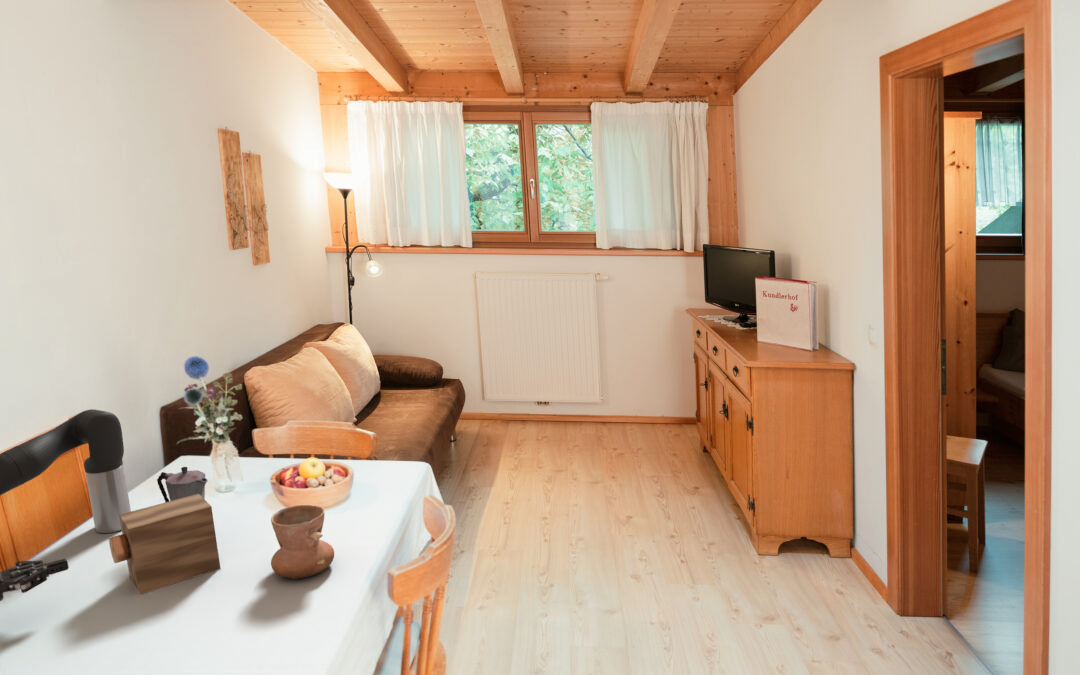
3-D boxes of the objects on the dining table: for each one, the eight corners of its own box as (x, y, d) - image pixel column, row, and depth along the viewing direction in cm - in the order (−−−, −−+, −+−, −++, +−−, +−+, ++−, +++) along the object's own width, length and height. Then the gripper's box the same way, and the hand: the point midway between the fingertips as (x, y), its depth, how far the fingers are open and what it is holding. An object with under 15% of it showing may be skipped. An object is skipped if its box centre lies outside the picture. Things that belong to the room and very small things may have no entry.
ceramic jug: (350, 568, 192) (344, 511, 189) (296, 592, 182) (288, 532, 179) (309, 549, 204) (303, 495, 202) (256, 570, 194) (248, 514, 191)
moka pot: (205, 548, 207) (194, 474, 203) (152, 545, 210) (140, 473, 206) (226, 531, 216) (216, 460, 213) (175, 529, 220) (164, 460, 216)
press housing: (129, 577, 194) (119, 514, 190) (207, 553, 204) (198, 493, 201) (139, 594, 185) (128, 529, 182) (220, 568, 196) (211, 506, 192)
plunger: (111, 558, 188) (107, 534, 187) (206, 530, 201) (203, 507, 200) (116, 567, 184) (112, 542, 182) (213, 538, 196) (210, 515, 195)
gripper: (-29, 585, 164) (68, 558, 174) (-31, 562, 175) (61, 538, 185) (-22, 619, 166) (74, 590, 176) (-25, 594, 176) (66, 568, 186)
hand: (67, 563), depth 180 cm, fingers closed
